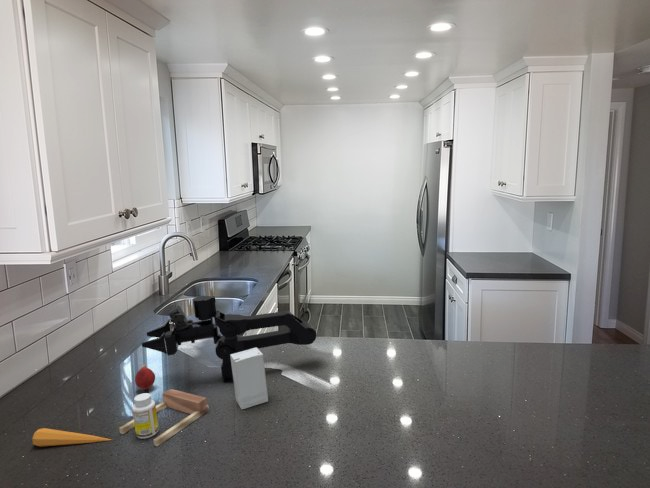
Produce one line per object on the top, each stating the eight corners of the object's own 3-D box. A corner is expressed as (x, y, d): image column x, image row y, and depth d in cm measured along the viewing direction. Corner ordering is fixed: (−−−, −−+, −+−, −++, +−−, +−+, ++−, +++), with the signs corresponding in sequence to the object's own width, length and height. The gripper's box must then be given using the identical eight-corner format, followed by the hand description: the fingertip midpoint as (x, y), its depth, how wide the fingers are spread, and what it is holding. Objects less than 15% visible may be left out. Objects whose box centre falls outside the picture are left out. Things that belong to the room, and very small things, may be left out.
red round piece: (149, 394, 139) (146, 370, 138) (132, 394, 140) (129, 369, 139) (160, 385, 144) (156, 361, 143) (143, 385, 146) (140, 361, 144)
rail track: (173, 400, 134) (171, 387, 134) (209, 410, 127) (207, 397, 127) (119, 433, 119) (117, 418, 118) (157, 446, 112) (155, 431, 111)
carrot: (32, 450, 115) (26, 439, 113) (42, 434, 119) (36, 423, 117) (111, 453, 115) (107, 442, 113) (118, 437, 119) (115, 426, 117)
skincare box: (262, 393, 135) (257, 346, 132) (269, 402, 129) (264, 353, 127) (234, 401, 131) (229, 352, 129) (240, 411, 126) (234, 360, 123)
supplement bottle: (152, 424, 122) (147, 389, 120) (163, 431, 118) (158, 395, 116) (132, 435, 118) (126, 398, 116) (142, 442, 114) (137, 404, 112)
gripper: (195, 298, 150) (145, 305, 146) (191, 315, 132) (134, 324, 128) (199, 330, 152) (150, 338, 148) (197, 351, 134) (140, 361, 130)
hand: (144, 339), depth 139 cm, fingers open, 9 cm apart
